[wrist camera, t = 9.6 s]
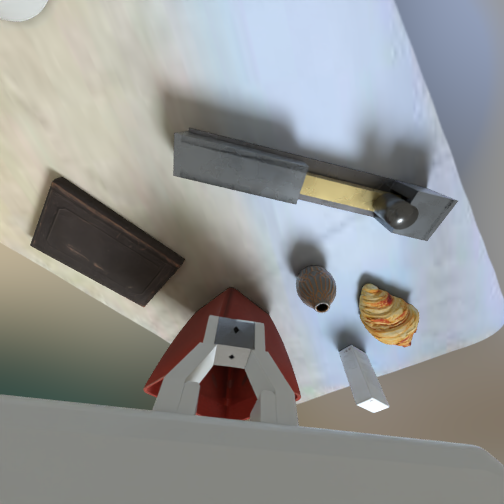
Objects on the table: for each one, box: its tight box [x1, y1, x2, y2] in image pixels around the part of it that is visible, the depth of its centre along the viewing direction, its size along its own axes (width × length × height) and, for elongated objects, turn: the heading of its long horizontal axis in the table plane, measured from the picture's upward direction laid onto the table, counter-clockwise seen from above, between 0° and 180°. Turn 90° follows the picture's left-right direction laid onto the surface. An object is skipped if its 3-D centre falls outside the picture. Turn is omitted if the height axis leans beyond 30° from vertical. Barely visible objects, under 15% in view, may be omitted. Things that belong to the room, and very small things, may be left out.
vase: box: [296, 266, 336, 313], centre depth 38 cm, size 7×7×9 cm
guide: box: [173, 128, 458, 241], centre depth 29 cm, size 36×6×6 cm, turn 78°
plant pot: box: [144, 288, 301, 420], centre depth 41 cm, size 19×19×17 cm
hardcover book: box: [30, 177, 185, 307], centre depth 40 cm, size 16×23×2 cm
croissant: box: [359, 284, 419, 347], centre depth 44 cm, size 21×10×8 cm, turn 40°
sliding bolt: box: [300, 172, 419, 230], centre depth 28 cm, size 22×3×7 cm, turn 78°
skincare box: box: [339, 345, 389, 413], centre depth 49 cm, size 6×4×12 cm
